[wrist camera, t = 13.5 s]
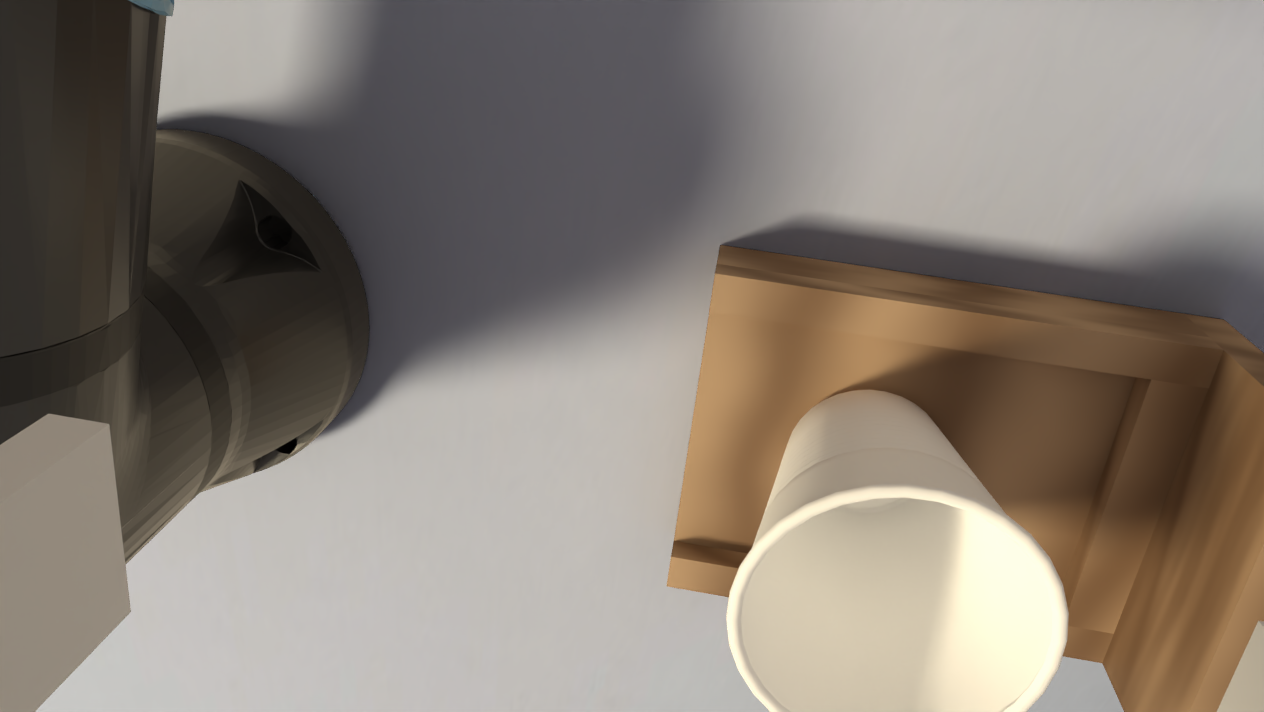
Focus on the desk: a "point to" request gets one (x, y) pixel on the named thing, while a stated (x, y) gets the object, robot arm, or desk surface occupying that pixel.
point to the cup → (891, 576)
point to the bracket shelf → (1012, 444)
